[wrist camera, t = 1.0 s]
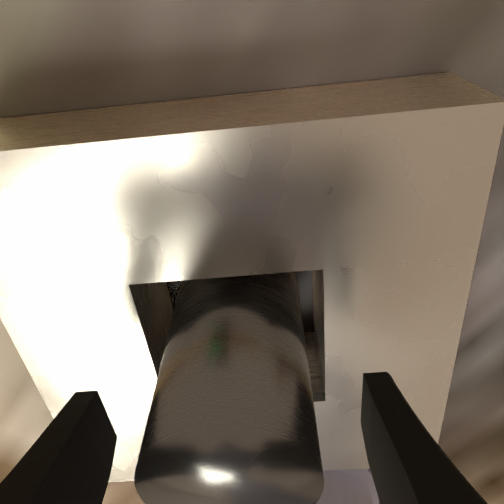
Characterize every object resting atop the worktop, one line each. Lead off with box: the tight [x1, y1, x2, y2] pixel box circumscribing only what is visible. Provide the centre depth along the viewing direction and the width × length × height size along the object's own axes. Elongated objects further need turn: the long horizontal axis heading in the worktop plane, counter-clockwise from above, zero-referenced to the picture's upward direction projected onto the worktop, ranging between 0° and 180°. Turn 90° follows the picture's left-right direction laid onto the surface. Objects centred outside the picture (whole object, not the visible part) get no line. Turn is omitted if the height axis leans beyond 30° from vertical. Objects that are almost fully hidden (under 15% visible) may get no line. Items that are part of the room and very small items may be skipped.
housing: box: [0, 72, 504, 482], centre depth 16 cm, size 14×14×4 cm
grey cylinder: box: [134, 272, 324, 504], centre depth 14 cm, size 4×4×8 cm
